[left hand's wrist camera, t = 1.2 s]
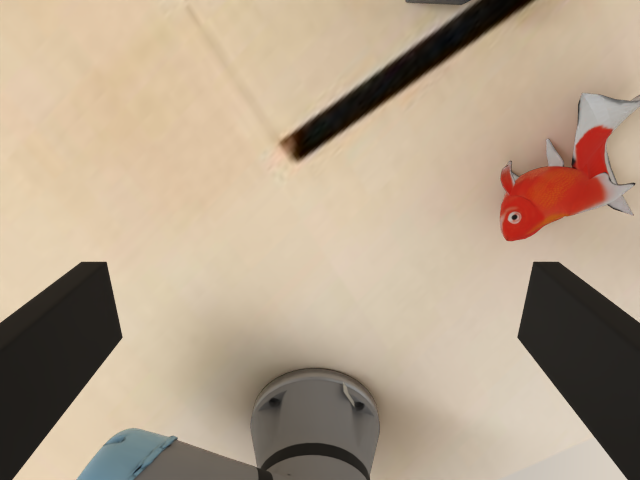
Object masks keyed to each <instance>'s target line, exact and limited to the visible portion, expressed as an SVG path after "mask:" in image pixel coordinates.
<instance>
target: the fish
mask: <svg viewBox="0 0 640 480" xmlns="http://www.w3.org/2000/svg"><path fill="white" fill-rule="evenodd" d="M639 107H640V95H639V96H637V97H635V98H634V99H632V100H631V101H626V100H617V99H613V98H609V97H606V96H603V95H599V94H587V93H582V94H581V98H580V101H579V104H578V125H577V131H576V137H575V144H574V151H573V158H572V168H569V167H564V161H563V160H562V158H561V156H560V155H559V154H558V152H557V151H556V150H555V148H554V146H553V145H552V143H551V141H550V140H549V139H546V144H547V146H546V152H547V159H548V165H549V166H548V167H541V168H537V169H534V170H531V171H529V172H527V173H525V174H523V175H521V176H520V177H519V176H517V175H516V174H514V173H513V172H512V171H511V166H512V161H509V162H508V164H507V166H506V167H504V168H503V169H502V172H501V183H502V186H503V188H504V189H505V191H506V193H505V195H504V198H503V202H502V204H501V212H500V228H501V232H502V234H503V236H504V238H505V239H506V240H507V241H515V240H520V239H526V238H528V237H530V236H532V235H533V234H535V233H536V232H537V231H539V230H540V229H541V228H542V227H543V226H545V225H547V224H549V223H551V222H553V221H556V220H558V219H561V218H562V217H564V216H570V215H575V214H578V213H581V212H585V211H588V210H591V209H595V208H598V207H601V206H604V205H608V206H610V207H611V208H613V209H615V210H618V211H621V212H624V213H627V214H631V215H633V213H632V211H631V209H630V208H629V206H628V204H627V202H626V201H625V199H624V197H623V194H624V193H625V192H626V191H628V190H629V189H630V188H631V187H633V186H634V185H635V184H636V183H629V184H623V185H618V184H617V181H616V179H615V176H614V174H613V171H612V169H611V166H610V162H609V158H608V154H607V139H608V137H609V135H610V134H611V133H612V132H613V131H614V130H615V129H616V128H617V127H618V126H619V125H620V124H621V123H622V122H623V121H624V120H625V119H626V118H627V117H628V116H629V115H630V114H631V113H632V112H634V111H635V110H636V109H637V108H639Z"/></svg>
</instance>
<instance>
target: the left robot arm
mask: <svg viewBox="0 0 640 480" xmlns="http://www.w3.org/2000/svg"><path fill="white" fill-rule="evenodd" d="M122 338H123V337H122V333H121V328H120V323H119V319H118V314H117V309H116V304H115V300H114V295H113V290H112V286H111V281H110V276H109V271H108V267H107V262H81V263H79V264H78V265H77V266H75V267H74V268H73V269H71V270H70V271H69V272H67V273H66V274H65V275H63V276H62V277H61V278H59V279H58V280H57V281H55V282H54V283H53V284H51V285H50V286H49V287H47V288H46V289H45V290H43V291H42V292H41V293H39V294H38V295H37V296H35V297H34V298H33V299H31V300H30V301H29V302H27V303H26V304H25V305H23V306H22V307H21V308H19V309H18V310H17V311H15V312H14V313H13V314H11V315H10V316H9V317H8V318H6V319H5V320H4V321H2V322H1V323H0V480H12V479H13V478H14V477H15V476H16V474H17V473H18V472H19V470H20V469H21V468H22V467H23V465H24V464H25V463H26V461H27V460H28V459H29V457H30V456H31V455H32V454H33V452H34V451H35V450H36V448H37V447H38V446H39V445H40V443H41V442H42V441H43V439H44V438H45V437H46V436H47V434H48V433H49V432H50V430H51V429H52V428H53V427H54V425H55V424H56V423H57V421H58V420H59V419H60V417H61V416H62V415H63V414H64V412H65V411H66V410H67V408H68V407H69V406H70V405H71V403H72V402H73V401H74V399H75V398H76V397H77V396H78V394H79V393H80V392H81V390H82V389H83V388H84V387H85V385H86V384H87V383H88V381H89V380H90V379H91V378H92V376H93V375H94V374H95V372H96V371H97V370H98V368H99V367H100V366H101V365H102V363H103V362H104V361H105V359H106V358H107V357H108V356H109V354H110V353H111V352H112V350H113V349H114V348H115V347H116V345H117V344H118V343H119V341H120V340H121V339H122ZM517 338H518V339H519V340H520V341H521V343H522V344H523V345H524V347H525V348H526V349H527V350H528V352H529V353H530V354H531V356H532V357H533V358H534V359H535V361H536V362H537V363H538V365H539V366H540V367H541V368H542V370H543V371H544V372H545V374H546V375H547V376H548V378H549V379H550V380H551V381H552V383H553V384H554V385H555V387H556V388H557V389H558V390H559V392H560V393H561V394H562V396H563V397H564V398H565V399H566V401H567V402H568V403H569V405H570V406H571V407H572V408H573V410H574V411H575V412H576V414H577V415H578V416H579V417H580V419H581V420H582V421H583V423H584V424H585V425H586V427H587V428H588V429H589V430H590V432H591V433H592V434H593V436H594V437H595V438H596V439H597V441H598V442H599V443H600V444H601V446H602V447H603V448H604V450H605V451H606V452H607V454H608V455H609V456H610V457H611V459H612V460H613V461H614V463H615V464H616V465H617V466H618V468H619V469H620V470H621V472H622V473H623V474H624V475H625V477H626V478H627V479H628V480H640V323H639V322H638V321H636V320H635V319H634V318H632V317H631V316H630V315H629V314H627V313H626V312H625V311H623V310H622V309H621V308H619V307H618V306H617V305H615V304H614V303H613V302H611V301H610V300H609V299H607V298H606V297H605V296H603V295H602V294H601V293H599V292H598V291H597V290H595V289H594V288H593V287H591V286H590V285H589V284H587V283H586V282H585V281H583V280H582V279H581V278H579V277H578V276H577V275H575V274H574V273H573V272H571V271H570V270H569V269H567V268H566V267H565V266H563V265H562V264H561V263H559V262H533V267H532V271H531V276H530V281H529V286H528V290H527V295H526V300H525V304H524V309H523V314H522V319H521V323H520V328H519V333H518V337H517ZM379 432H380V424H379V417H378V411H377V406H376V403H375V401H374V399H373V397H372V396H371V394H370V393H369V391H368V390H367V389H366V388H365V387H364V386H363V385H362V384H360V383H359V382H358V381H356V380H355V379H353V378H351V377H349V376H347V375H345V374H342V373H339V372H336V371H332V370H326V369H303V370H297V371H293V372H290V373H287V374H284V375H282V376H280V377H278V378H276V379H275V380H273V381H272V382H270V383H269V384H268V385H267V386H266V387H265V388H264V389H263V390H262V391H261V393H260V394H259V396H258V397H257V400H256V402H255V405H254V409H253V413H252V418H251V434H252V440H253V446H254V451H255V457H256V463H257V467H255V466H252V465H249V464H245V463H242V462H239V461H236V460H233V459H230V458H227V457H224V456H221V455H218V454H216V453H213V452H210V451H207V450H204V449H201V448H198V447H196V446H193V445H190V444H187V443H184V442H181V441H178V440H177V438H178V437H175V436H171V437H167V436H163V435H159V434H156V433H152V432H148V431H145V430H141V429H136V428H132V429H126V430H123V431H121V432H119V433H117V434H116V435H114V436H113V437H112V438H111V439H110V440H108V441H107V442H106V443H105V444H104V446H103V447H102V448H101V449H100V450H99V451H98V452H97V454H96V455H95V456H94V457H93V459H92V460H91V461H90V462H89V464H88V465H87V466H86V467H85V469H84V470H83V472H82V473H81V474H80V476H79V477H78V478H77V480H370V472H371V467H372V463H373V459H374V454H375V450H376V446H377V442H378V437H379Z"/></svg>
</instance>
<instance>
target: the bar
mask: <svg viewBox="0 0 640 480" xmlns="http://www.w3.org/2000/svg"><path fill="white" fill-rule="evenodd" d="M468 1H470V0H406V2H412V3H432V4H452V5H462V4H464V3H466V2H468Z"/></svg>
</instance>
